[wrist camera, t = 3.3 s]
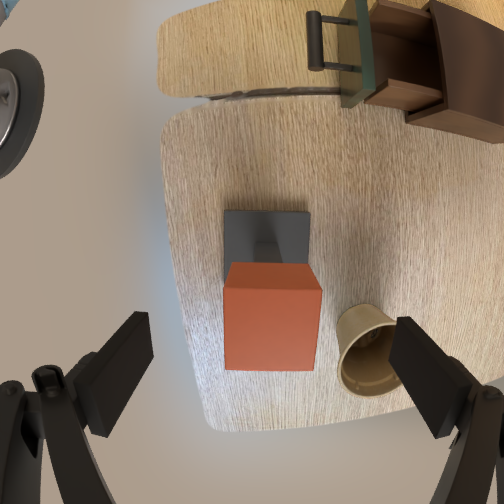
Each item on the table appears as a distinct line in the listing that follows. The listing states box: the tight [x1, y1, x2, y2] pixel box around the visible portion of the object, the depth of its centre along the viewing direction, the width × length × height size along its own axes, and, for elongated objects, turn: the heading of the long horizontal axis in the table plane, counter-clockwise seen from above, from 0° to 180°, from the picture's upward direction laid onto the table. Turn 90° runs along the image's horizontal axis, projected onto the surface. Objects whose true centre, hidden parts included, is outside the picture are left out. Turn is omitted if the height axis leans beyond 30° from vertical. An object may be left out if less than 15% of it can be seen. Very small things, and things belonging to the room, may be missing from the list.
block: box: [223, 262, 322, 371], centre depth 19 cm, size 5×5×5 cm
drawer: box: [306, 0, 444, 113], centre depth 25 cm, size 18×11×8 cm, turn 89°
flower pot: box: [336, 304, 403, 399], centre depth 32 cm, size 9×9×9 cm
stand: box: [224, 210, 311, 284], centre depth 28 cm, size 9×9×14 cm
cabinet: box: [405, 0, 504, 144], centre depth 24 cm, size 15×13×10 cm
